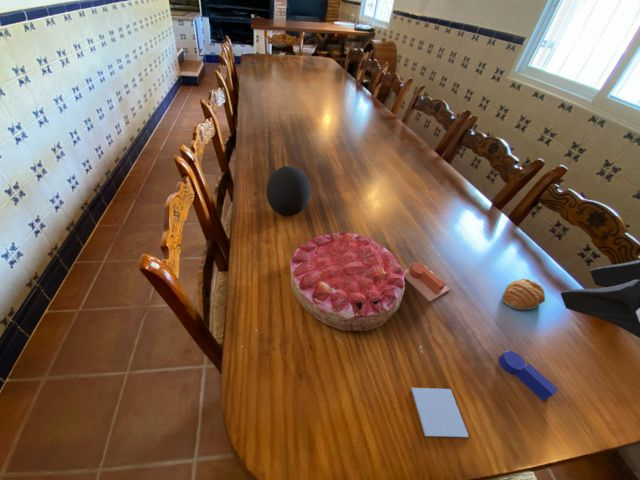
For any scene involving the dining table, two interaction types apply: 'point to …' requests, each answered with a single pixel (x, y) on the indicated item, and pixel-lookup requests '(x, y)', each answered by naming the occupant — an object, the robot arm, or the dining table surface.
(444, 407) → the blue mat
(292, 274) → the cake
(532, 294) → the pastry
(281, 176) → the decorative egg
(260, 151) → the dining table surface
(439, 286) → the terracotta spoon
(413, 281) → the rose mat
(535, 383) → the blue spoon
